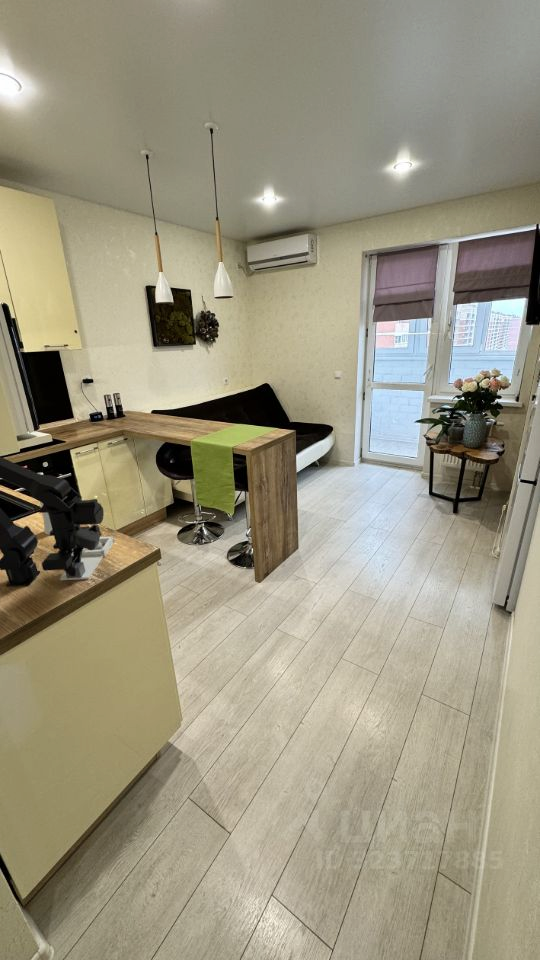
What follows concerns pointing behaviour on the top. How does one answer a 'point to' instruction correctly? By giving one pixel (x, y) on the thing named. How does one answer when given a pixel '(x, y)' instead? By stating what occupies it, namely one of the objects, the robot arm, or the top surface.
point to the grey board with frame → (89, 561)
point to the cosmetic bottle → (46, 519)
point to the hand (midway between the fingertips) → (75, 572)
